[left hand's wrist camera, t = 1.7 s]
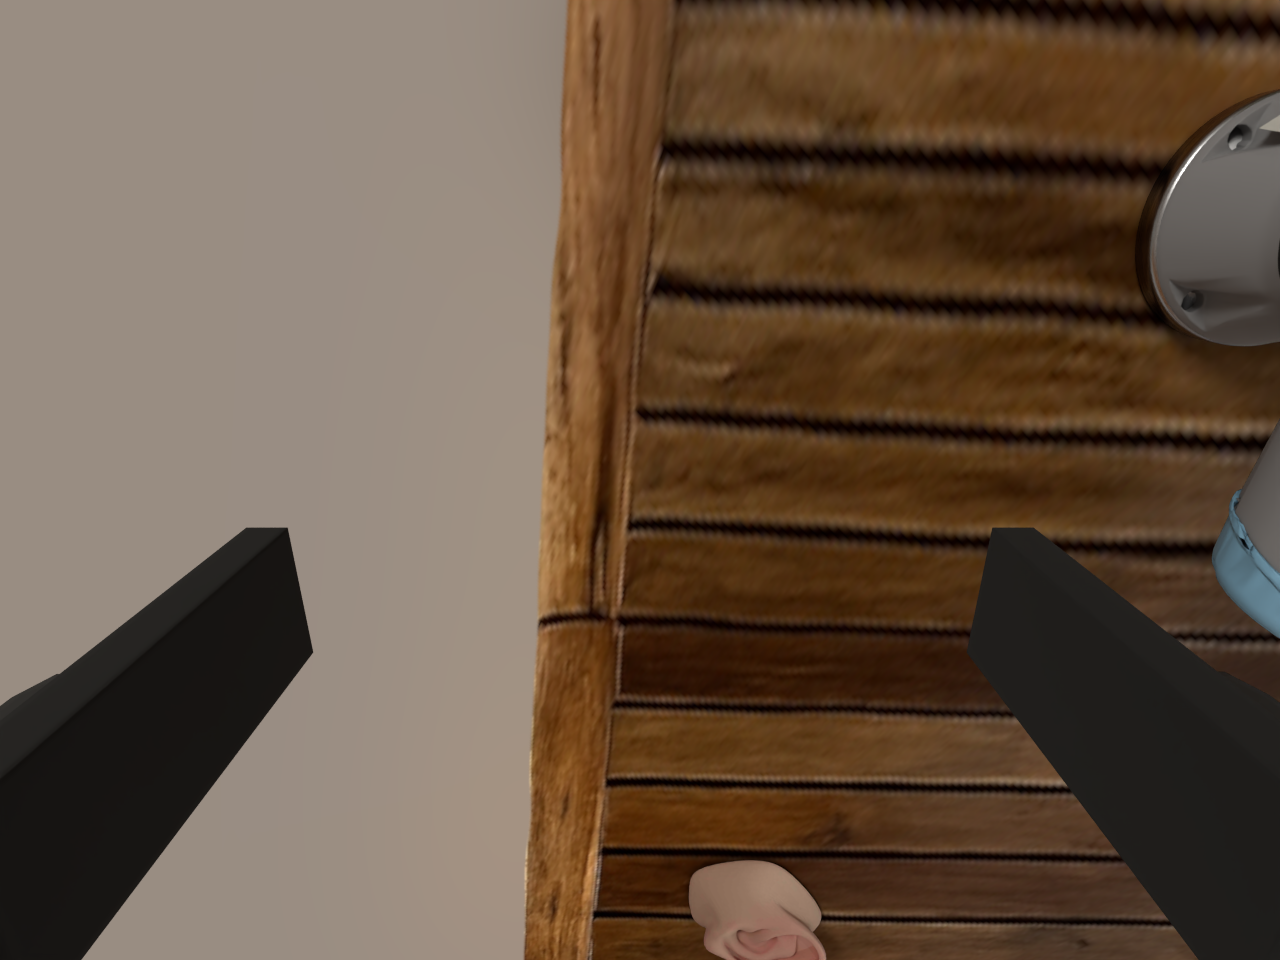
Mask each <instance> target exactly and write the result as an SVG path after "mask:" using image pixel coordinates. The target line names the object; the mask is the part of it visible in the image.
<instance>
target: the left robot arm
mask: <svg viewBox="0 0 1280 960" xmlns="http://www.w3.org/2000/svg"><path fill="white" fill-rule="evenodd" d="M1135 259H1136V270H1137V275H1138V280H1139V283H1140V286H1141V289H1142V292H1143V294H1144V296H1145V298H1146V300H1147V302H1148V304H1149V305H1150V307H1151V308H1152V310H1153V311H1154V312H1155V313H1156V315H1157V316H1158V317H1159V318H1160V319H1161V320H1162V321H1164V322H1165V323H1166V324H1167V325H1169V326H1170V327H1171V328H1173V329H1175V330H1177V331H1178V332H1180V333H1182V334H1185V335H1187V336H1190V337H1193V338H1197V339H1200V340H1205V341H1210V342H1214V343H1219V344H1225V345H1231V346H1256V345H1263V344H1268V343H1274V342H1280V89H1278V90H1273V91H1269V92H1265V93H1262V94H1258V95H1256V96H1253V97H1250V98H1248V99H1245V100H1243V101H1241V102H1239V103H1237V104H1235V105H1233V106H1231V107H1229V108H1228V109H1226V110H1224V111H1222V112H1221V113H1219V114H1218V115H1217V116H1215V117H1214V118H1212V119H1211V120H1209V121H1208V122H1207V123H1206V124H1204V125H1203V126H1202V127H1201V128H1199V129H1198V130H1197V131H1196V132H1195V133H1194V134H1193V135H1192V136H1191V137H1190V138H1189V139H1188V140H1187V141H1186V142H1185V143H1184V144H1183V145H1182V146H1181V147H1180V148H1179V149H1178V150H1177V152H1176V153H1175V154H1174V155H1173V157H1172V158H1171V159H1170V160H1169V162H1168V163H1167V165H1166V166H1165V168H1164V169H1163V171H1162V172H1161V174H1160V175H1159V177H1158V179H1157V180H1156V182H1155V184H1154V186H1153V188H1152V190H1151V192H1150V194H1149V196H1148V198H1147V201H1146V204H1145V206H1144V209H1143V212H1142V215H1141V219H1140V222H1139V227H1138V232H1137V239H1136V256H1135ZM1212 563H1213V566H1214V569H1215V571H1216V578H1217V580H1218V582H1219V584H1220V585H1221V587H1222V588H1223V589H1224V591H1225V592H1226V594H1227V595H1228V596H1229V597H1230V598H1231V599H1232V600H1233V601H1234V602H1235V603H1236V605H1237V606H1239V607H1240V608H1241V609H1242V610H1243V611H1244V612H1245V613H1246V614H1247V615H1249V616H1250V617H1251V618H1252V619H1253V620H1255V621H1256V622H1257V623H1259V624H1260V625H1261V626H1262V627H1264V628H1265V629H1267V630H1268V631H1269V632H1271V633H1272V634H1274V635H1275V636H1277V637H1278V638H1280V419H1279V421H1278V423H1277V425H1276V427H1275V429H1274V431H1273V432H1272V434H1271V436H1270V438H1269V440H1268V442H1267V444H1266V445H1265V447H1264V449H1263V451H1262V453H1261V455H1260V457H1259V458H1258V460H1257V462H1256V464H1255V466H1254V468H1253V470H1252V471H1251V473H1250V475H1249V477H1248V479H1247V481H1246V483H1245V485H1244V486H1243V488H1242V489H1241V490H1238V491H1236V493H1235V494H1234V496H1233V497H1232V499H1231V502H1230V505H1229V516H1228V518H1227V520H1226V523H1225V525H1224V527H1223V529H1222V531H1221V533H1220V535H1219V538H1218V540H1217V542H1216V544H1215V546H1214V549H1213V554H1212ZM312 653H313V649H312V644H311V639H310V634H309V630H308V625H307V620H306V615H305V610H304V605H303V600H302V596H301V591H300V586H299V581H298V576H297V571H296V566H295V561H294V557H293V552H292V547H291V542H290V537H289V532H288V528H245V529H244V530H243V531H242V532H240V533H239V534H238V535H237V536H235V537H234V538H233V539H231V540H230V541H229V542H228V543H226V544H225V545H224V546H222V547H221V548H220V549H219V550H217V551H216V552H215V553H214V554H212V555H211V556H210V557H209V558H207V559H206V560H205V561H203V562H202V563H201V564H200V565H198V566H197V567H196V568H194V569H193V570H192V571H191V572H189V573H188V574H187V575H185V576H184V577H183V578H182V579H180V580H179V581H178V582H177V583H175V584H174V585H173V586H171V587H170V588H169V589H168V590H166V591H165V592H164V593H162V594H161V595H160V596H159V597H157V598H156V599H155V600H154V601H152V602H151V603H150V604H149V605H147V606H146V607H145V608H143V609H142V610H141V611H140V612H138V613H137V614H136V615H134V616H133V617H132V618H131V619H129V620H128V621H127V622H125V623H124V624H123V625H122V626H120V627H119V628H118V629H117V630H115V631H114V632H113V633H111V634H110V635H109V636H108V637H106V638H105V639H104V640H103V641H101V642H100V643H99V644H97V645H96V646H95V647H94V648H92V649H91V650H90V651H88V652H87V653H86V654H85V655H83V656H82V657H81V658H80V659H78V660H77V661H76V662H74V663H73V664H72V665H71V666H69V667H68V668H67V669H66V670H64V671H63V672H62V673H60V674H56V675H54V676H52V677H50V678H48V679H46V680H44V681H42V682H41V683H39V684H37V685H35V686H33V687H31V688H29V689H27V690H25V691H23V692H21V693H19V694H18V695H16V696H14V697H12V698H10V699H9V700H8V701H6V702H5V703H4V704H2V705H1V706H0V960H81V959H82V958H83V957H84V955H85V954H86V953H87V952H88V950H89V949H90V948H91V946H92V945H93V943H94V942H95V941H96V940H97V938H98V937H99V936H100V934H101V933H102V932H103V930H104V929H105V928H106V926H107V925H108V924H109V922H110V921H111V920H112V918H113V917H114V916H115V914H116V913H117V912H118V910H119V909H120V908H121V906H122V905H123V904H124V902H125V901H126V900H127V898H128V897H129V896H130V894H131V893H132V892H133V891H134V889H135V888H136V887H137V885H138V884H139V882H140V881H141V880H142V879H143V877H144V876H145V875H146V873H147V872H148V871H149V869H150V868H151V867H152V865H153V864H154V863H155V861H156V860H157V859H158V857H159V856H160V855H161V853H162V852H163V851H164V849H165V848H166V847H167V845H168V844H169V843H170V841H171V840H172V839H173V838H174V836H175V835H176V834H177V832H178V831H179V830H180V828H181V827H182V826H183V824H184V823H185V822H186V820H187V819H188V818H189V816H190V815H191V814H192V812H193V811H194V810H195V808H196V807H197V806H198V804H199V803H200V802H201V800H202V799H203V798H204V796H205V795H206V794H207V792H208V791H209V790H210V788H211V787H212V786H213V785H214V783H215V782H216V781H217V779H218V778H219V777H220V775H221V774H222V773H223V771H224V770H225V769H226V767H227V766H228V765H229V763H230V762H231V761H232V759H233V758H234V757H235V755H236V754H237V753H238V751H239V750H240V749H241V747H242V746H243V745H244V743H245V742H246V741H247V739H248V738H249V737H250V735H251V734H252V733H253V731H254V730H255V729H256V727H257V726H258V725H259V723H260V722H261V721H262V720H263V718H264V717H265V716H266V714H267V713H268V712H269V710H270V709H271V708H272V706H273V705H274V704H275V702H276V701H277V700H278V698H279V697H280V696H281V694H282V693H283V692H284V690H285V689H286V688H287V686H288V685H289V684H290V682H291V681H292V680H293V678H294V677H295V676H296V674H297V673H298V672H299V671H300V669H301V668H302V667H303V665H304V664H305V663H306V661H307V660H308V658H309V657H310V656H311V655H312ZM967 653H968V655H969V656H970V657H971V659H972V660H973V661H974V663H975V664H976V665H977V667H978V668H979V669H980V671H981V672H982V673H983V675H984V676H985V677H986V678H987V680H988V681H989V682H990V684H991V685H992V686H993V688H994V689H995V690H996V692H997V693H998V694H999V696H1000V697H1001V698H1002V700H1003V701H1004V702H1005V704H1006V705H1007V706H1008V708H1009V709H1010V710H1011V712H1012V713H1013V714H1014V716H1015V717H1016V718H1017V720H1018V721H1019V722H1020V724H1021V725H1022V726H1023V728H1024V729H1025V730H1026V731H1027V733H1028V734H1029V735H1030V737H1031V738H1032V739H1033V741H1034V742H1035V743H1036V745H1037V746H1038V747H1039V749H1040V750H1041V751H1042V753H1043V754H1044V755H1045V757H1046V758H1047V759H1048V761H1049V762H1050V763H1051V765H1052V766H1053V767H1054V769H1055V770H1056V771H1057V773H1058V774H1059V775H1060V777H1061V778H1062V779H1063V781H1064V782H1065V783H1066V785H1067V786H1068V787H1069V788H1070V790H1071V791H1072V792H1073V794H1074V795H1075V796H1076V798H1077V799H1078V800H1079V802H1080V803H1081V804H1082V806H1083V807H1084V808H1085V810H1086V811H1087V812H1088V814H1089V815H1090V816H1091V818H1092V819H1093V820H1094V822H1095V823H1096V824H1097V826H1098V827H1099V828H1100V830H1101V831H1102V832H1103V834H1104V835H1105V836H1106V838H1107V839H1108V840H1109V842H1110V843H1111V844H1112V845H1113V847H1114V848H1115V849H1116V851H1117V852H1118V853H1119V855H1120V856H1121V857H1122V859H1123V860H1124V861H1125V863H1126V864H1127V865H1128V867H1129V868H1130V869H1131V871H1132V872H1133V873H1134V875H1135V876H1136V877H1137V879H1138V880H1139V881H1140V883H1141V884H1142V885H1143V887H1144V888H1145V889H1146V891H1147V892H1148V893H1149V895H1150V896H1151V897H1152V898H1153V900H1154V901H1155V902H1156V904H1157V905H1158V906H1159V908H1160V909H1161V910H1162V912H1163V913H1164V914H1165V916H1166V917H1167V918H1168V920H1169V921H1170V922H1171V924H1172V925H1173V926H1174V928H1175V929H1176V930H1177V932H1178V933H1179V934H1180V936H1181V937H1182V938H1183V940H1184V941H1185V942H1186V944H1187V945H1188V946H1189V948H1190V949H1191V950H1192V952H1193V953H1194V954H1195V955H1196V957H1197V958H1198V959H1199V960H1280V703H1279V702H1278V701H1277V700H1275V699H1274V698H1273V697H1271V696H1270V695H1268V694H1266V693H1264V692H1262V691H1260V690H1259V689H1257V688H1255V687H1253V686H1251V685H1249V684H1247V683H1245V682H1243V681H1241V680H1239V679H1237V678H1235V677H1233V676H1231V675H1230V674H1228V673H1226V672H1217V671H1216V670H1214V669H1213V668H1212V667H1211V666H1209V665H1208V664H1207V663H1206V662H1204V661H1203V660H1202V659H1200V658H1199V657H1198V656H1197V655H1195V654H1194V653H1193V652H1192V651H1190V650H1189V649H1188V648H1186V647H1185V646H1184V645H1183V644H1181V643H1180V642H1179V641H1177V640H1176V639H1175V638H1174V637H1172V636H1171V635H1170V634H1169V633H1167V632H1166V631H1165V630H1163V629H1162V628H1161V627H1160V626H1158V625H1157V624H1156V623H1155V622H1153V621H1152V620H1151V619H1149V618H1148V617H1147V616H1146V615H1144V614H1143V613H1142V612H1140V611H1139V610H1138V609H1137V608H1135V607H1134V606H1133V605H1132V604H1130V603H1129V602H1128V601H1126V600H1125V599H1124V598H1123V597H1121V596H1120V595H1119V594H1118V593H1116V592H1115V591H1114V590H1112V589H1111V588H1110V587H1109V586H1107V585H1106V584H1105V583H1103V582H1102V581H1101V580H1100V579H1098V578H1097V577H1096V576H1095V575H1093V574H1092V573H1091V572H1089V571H1088V570H1087V569H1086V568H1084V567H1083V566H1082V565H1081V564H1079V563H1078V562H1077V561H1075V560H1074V559H1073V558H1072V557H1070V556H1069V555H1068V554H1066V553H1065V552H1064V551H1063V550H1061V549H1060V548H1059V547H1058V546H1056V545H1055V544H1054V543H1052V542H1051V541H1050V540H1049V539H1047V538H1046V537H1045V536H1044V535H1042V534H1041V533H1040V532H1038V531H1037V530H1036V529H1035V528H992V532H991V537H990V542H989V547H988V552H987V557H986V561H985V566H984V571H983V576H982V581H981V586H980V591H979V596H978V600H977V605H976V610H975V615H974V620H973V625H972V630H971V634H970V639H969V644H968V649H967Z"/></svg>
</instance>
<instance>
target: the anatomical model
mask: <svg viewBox="0 0 1280 960" xmlns="http://www.w3.org/2000/svg"><path fill="white" fill-rule="evenodd" d="M689 904H690V909H691V914H692V916H693V918H694V920H695V921H696V922H697V923H698V924H700V925H701V926H703V927H705V928H706V932H705V935H704V944H705V947H706V949H707V950H708V951H710V952H711V953H713V954H715V955H718V956H720V957H722V958H724V959H726V960H826V953H825V950H824V947H823V946H822V944H821V942H820V941H819V939H818V938H817V937H816V935H815V934H814V933H813V931H814V930H815V929H816V928H817V926H818V925H819V923H820V921H821V912H820V909H819V907H818V905H817V904H816V902H815V900H814V899H813V898H812V896H811V895H810V894H809V893H808V891H807V890H806V889H805V888H804V887H803V886H802V885H801V884H800V883H799V881H798V880H796V879H795V878H794V877H793V876H792V875H791V874H790V873H789V872H787V871H786V870H785V869H783V868H782V867H780V866H778V865H776V864H773V863H770V862H766V861H758V860H743V861H733V862H726V863H720V864H715V865H711V866H707V867H704V868H702V869H699V870H698V871H696V872H695V873H694V874H693V876H692V877H691V880H690V885H689Z"/></svg>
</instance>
